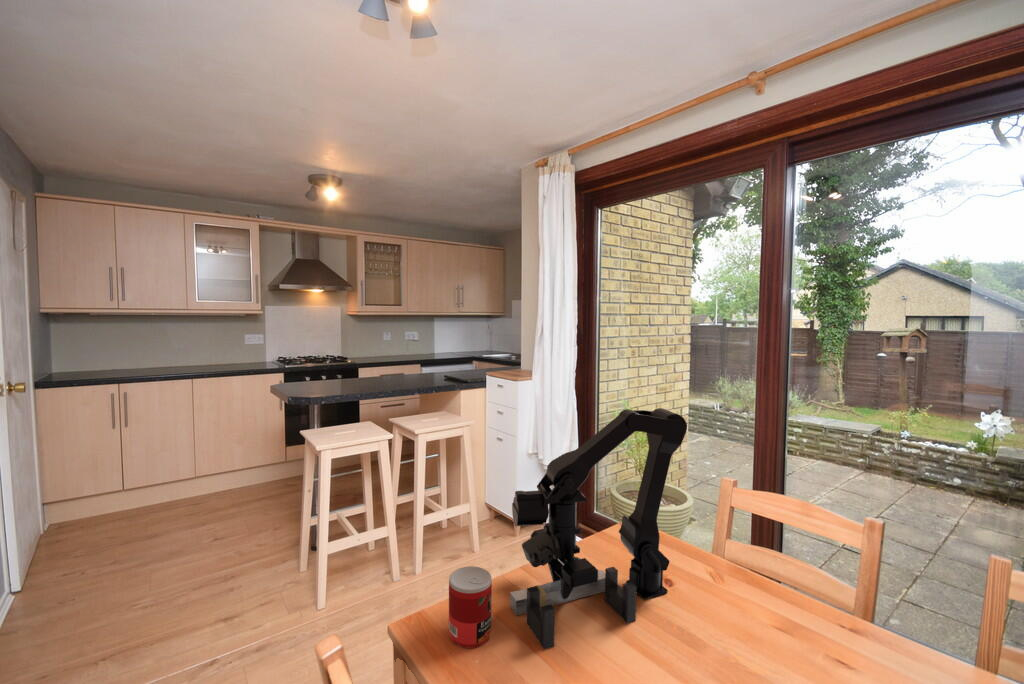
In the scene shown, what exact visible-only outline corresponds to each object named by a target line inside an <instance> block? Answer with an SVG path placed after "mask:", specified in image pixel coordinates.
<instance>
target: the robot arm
mask: <svg viewBox="0 0 1024 684" xmlns="http://www.w3.org/2000/svg"><path fill="white" fill-rule="evenodd" d="M687 430H688V423H687V421H686V420H685V417H683V416H682V415H681V414H678V413H675V412H673V411H670V410H668V409H665V408H661V407H659V408H655V409H654V410H645V409H644V410H643V409H641V410H639V409H638V410H634V409H629V408H627V409H626V408H624V409H623V410H621V411H620V412H619V413H618V415H617V416H616V417H614V419H612V420H611V421H610V422H609V423H607V424H606V425H605V426H604V427H602V428H601V429H599V431H597V432H596V433H595V434H594V435H593V436H592V437H590V438H589V439H588V440H587V441H586V442H584V443H583V444H582V445H581V446H580V447H578V448H576V449H574V450H571V451H568V452H565V453H563V454H561V455H559V456H558V457H556V458H554V459H553V460H551V461H550V462H549V463H548V465H547V466H546V473H545V474H544V475H543V477H541V479H540V481H539V482H538V484H537V485H536V488H537V490H528V491H524V490H516V491H515V492H514V497H513V500H512V501H513V502H512V503H511V510H512V511H511V512H512V521H513V524H514V526H515V527H523V526H524V527H526V526H538V525H539V526H540V525H543V524H544V526H543V528H541V529H535V530H533V532H532V533H531V534H530V538H529V539H527V540H526V541H523V543H522V544H521V547H522V548H521V549H522V551H523V553H524V556H525V559H526V561H528V563H529V564H530V565H531V566H532V568H538V567H541V566H542V567H544V566H545V565H547V566H548V568H549V572H550V575H551V579H552V582H554V581H558V580H561V590H562V597H563V599H567V598H568V597H569V595H570V593H571V591H572V590H573V588H574V587H577V586H581V585H585V584H589V583H593V582H597V580H598V571H599V569H597V568H596V566H594V565H593V564H592V563H591V562H590V561H589V560H588V559H587V558H586V557H583V558H580V557H578V556H575V555H576V554H580V552H581V548H580V546H578V545H577V535H579V534H581V528H580V527H579V526H577V506H578V505H577V503H584V502H587V497H586V496H585V495H584V494H583V493H582V492H581V490H580V489H579V488H580V487H581V486H582V485H583V484H584V483H585V482H586V480H587V479H588V477H589V474H590V472H591V470H592V469H593V468H594V467H595V466H596V465H597V464H598V463H599V462H600V461H602V460H603V459H605V458H606V456H608V455H609V454H610V453H611V452H613V451H614V450H615V449H616V448H617V447H618V446H620V445H621V444H622V443H623V442H624V441H626V440H627V439H628V438H630V437H631V436H632V435H633V434H634V433H635V432H641V433H646V438H647V443H648V451H647V455H646V459H645V464H644V467H643V468H644V469H643V473H642V476H641V481H640V486H639V490H638V493H637V498H636V499H637V500H636V502H635V507H634V510H633V512H632V513H630V515H629V516H626V515H622V518H621V525H620V528H619V529H618V534H620V541H621V544H623V546H624V547H625V549H627V551H628V553H629V554H630V555H632V557H633V559H631V560H630V567H629V574H628V575H629V577H628V580H626V581H625V584H627V583H630V582H632V583H633V584H634V585H635V586H636V595H638V596H639V597H641V599H643V600H648V599H652V598H655V597H658V596H661V595H665V594H668V593H669V591H668V589H667V588H666V587H664V585H663V583H664V582H663V577H664V571H667V570H668V567H669V565H670V560H669V558H667V557H666V556H665V555H664V554H663V553H662V551H660V550H659V549H660V537H661V536H660V530H659V526H658V515H659V512H660V508H661V502H662V499H663V495H664V492H665V491H664V490H665V486H666V482H667V477H668V472H669V469H670V464H671V459H672V457H673V454H674V453H675V452H676V451H677V450H678V449H679V448H680V447H681V446H682V444H683V441H684V438H685V436H686V433H687ZM551 486H552V487H553V488H551ZM547 520H548V522H547Z"/></svg>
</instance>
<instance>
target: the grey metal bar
mask: <svg viewBox="0 0 1024 684" xmlns="http://www.w3.org/2000/svg"><path fill="white" fill-rule="evenodd" d="M536 586H537V587H538V589H539V590H540V607H542V606H546V605H549V604H551V605H552V606H553V607H554V606H557V605H561V604H564V602H565V603H567V602H571V601H575V600H579V599H583V598H586V597H590V596H593V595H597V594H601V593H605V571H604V570H602V569H600V570H599V569H598V580H597V582H593V583H589V584H585V585H581V586H577V587H574V588H573V590H572V591H571V593H570V595H569V597H568V598H567V599H563V597H562V590H561V580H558V581H554V582H553V581H551V582H548V583H544V584H543V583H542V584H537V585H536ZM527 588H528V587H527ZM527 588H523V589H519V590H514V591H511V592H509V593H510V599H509V600H510V601H509V603H510V604H509V606H510V608H511V610H512V611H513V613H514V615H515V616H519V615H523V614H527Z"/></svg>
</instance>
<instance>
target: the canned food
mask: <svg viewBox="0 0 1024 684" xmlns="http://www.w3.org/2000/svg"><path fill="white" fill-rule="evenodd" d="M448 579H449V580H448V633H449V637H450V639H451V641H452V642H453V643H454V644H455V645H456V646H459V647H461V648H465V649H474V648H478V647H480V646H481V647H482V646H483V645H484V644H486V643H487V642H488V641H489V639H490V636H491V634H492V602H493V599H492V598H493V596H492V593H493V592H492V590H493V587H492V586H493V585H492V581H493V579H492V574H491V573H490V572H489V571H488V570H486V569H485V568H482V567H479V566H463V567H460V568H459V567H458V568H457V569H455V570H453V571H452V572H451V573H450V575H449V578H448Z"/></svg>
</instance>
